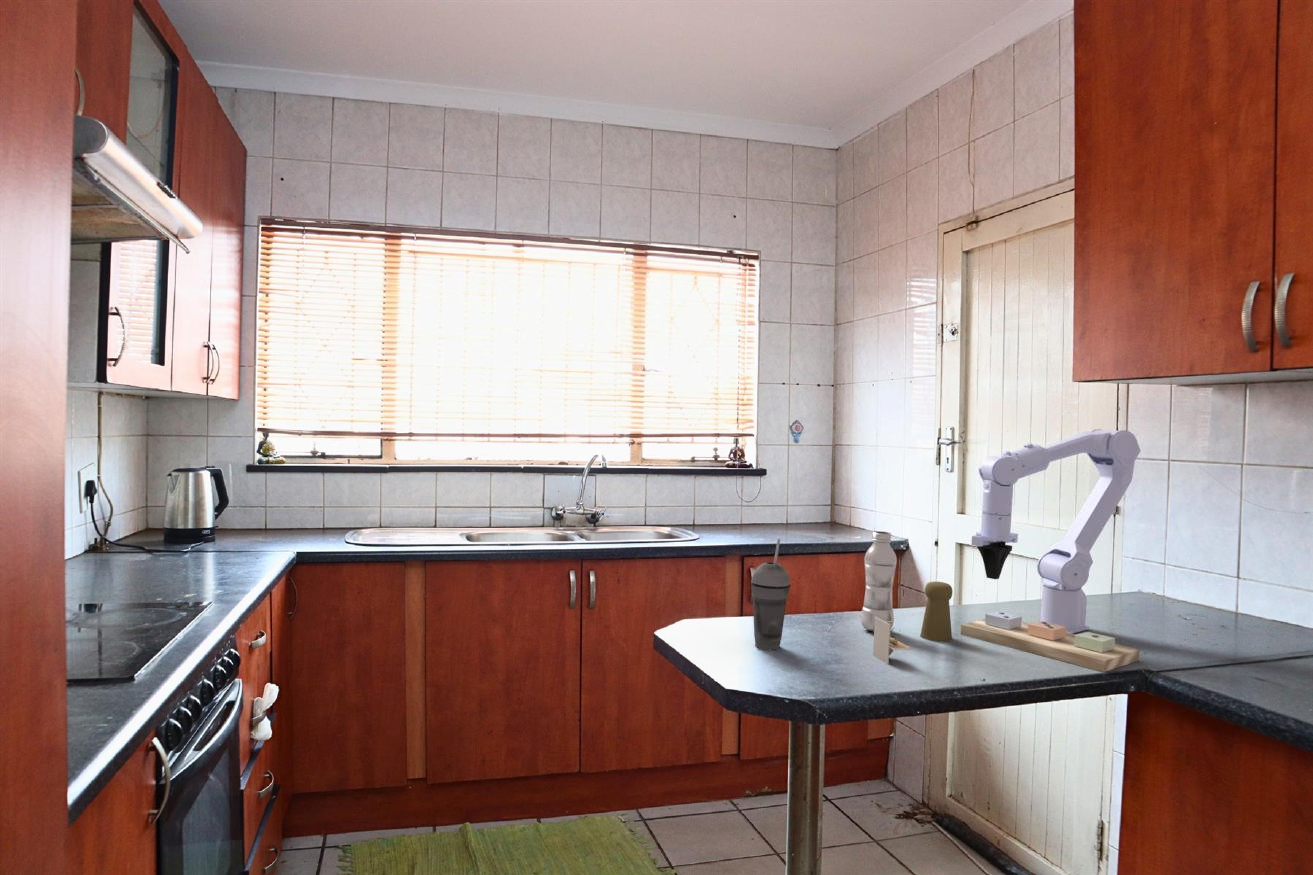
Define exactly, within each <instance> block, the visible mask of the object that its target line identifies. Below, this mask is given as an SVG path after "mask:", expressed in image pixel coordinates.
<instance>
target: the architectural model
mask: <svg viewBox="0 0 1313 875" xmlns="http://www.w3.org/2000/svg"><path fill="white" fill-rule="evenodd" d="M892 623H893V624H894V622H893V621H883V620H881V619H879V618H877V617H875V627H874V631H873V652H872V656H873V657H875V658H877V659H878V660H880V661H881V662H883V663H885V664H886V665H889V664H890V663H889V662H890V661H889V660H890V655H891V654H893V652H894V651H910V650H911V648H910V646H908V645H906V644H904V643H902V642H900V641H899V640H898V639H899V637H898V636H897V635H895V634H893V633H892V631H893V630H894V629H895V627H892V628H891V625H892ZM890 628H891V630H890Z"/></svg>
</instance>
